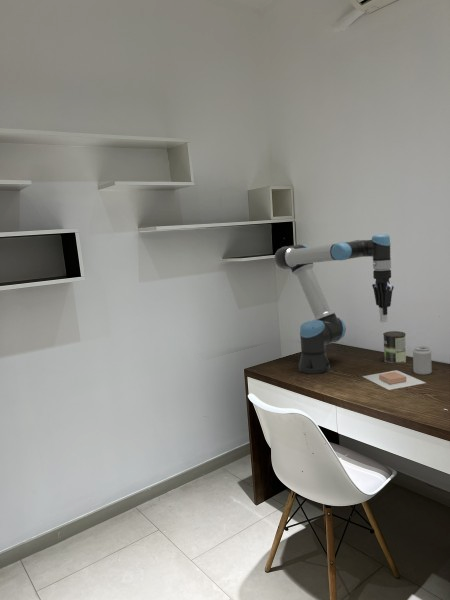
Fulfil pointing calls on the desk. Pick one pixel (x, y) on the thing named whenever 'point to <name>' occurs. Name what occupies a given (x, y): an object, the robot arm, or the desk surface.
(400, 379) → the tile
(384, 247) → the robot arm
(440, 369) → the desk surface
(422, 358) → the can
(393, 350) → the coffee can
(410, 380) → the mat
